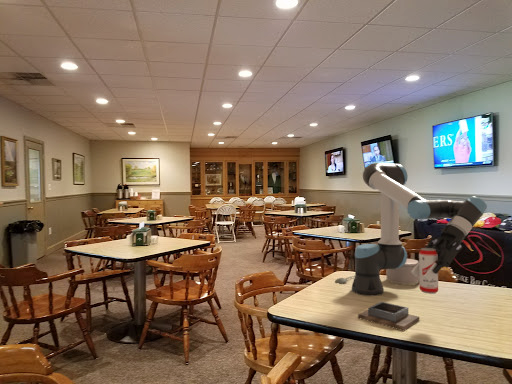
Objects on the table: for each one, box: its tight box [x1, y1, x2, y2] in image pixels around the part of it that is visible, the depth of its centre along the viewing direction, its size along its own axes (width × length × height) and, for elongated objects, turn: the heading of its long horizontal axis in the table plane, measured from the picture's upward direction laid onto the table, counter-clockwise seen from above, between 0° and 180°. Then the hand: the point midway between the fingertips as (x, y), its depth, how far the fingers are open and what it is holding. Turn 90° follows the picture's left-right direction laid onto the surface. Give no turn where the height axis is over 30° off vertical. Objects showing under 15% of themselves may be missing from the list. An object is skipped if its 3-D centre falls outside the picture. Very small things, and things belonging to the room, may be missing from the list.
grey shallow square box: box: [367, 301, 409, 323], centre depth 134 cm, size 11×11×3 cm
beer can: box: [418, 247, 439, 295], centre depth 128 cm, size 6×6×16 cm
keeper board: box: [357, 309, 420, 331], centre depth 134 cm, size 18×14×2 cm
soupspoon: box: [334, 275, 355, 285], centre depth 196 cm, size 22×3×7 cm
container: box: [385, 258, 419, 286], centre depth 193 cm, size 18×18×12 cm
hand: (420, 276), depth 128 cm, fingers closed on beer can, 6 cm apart
